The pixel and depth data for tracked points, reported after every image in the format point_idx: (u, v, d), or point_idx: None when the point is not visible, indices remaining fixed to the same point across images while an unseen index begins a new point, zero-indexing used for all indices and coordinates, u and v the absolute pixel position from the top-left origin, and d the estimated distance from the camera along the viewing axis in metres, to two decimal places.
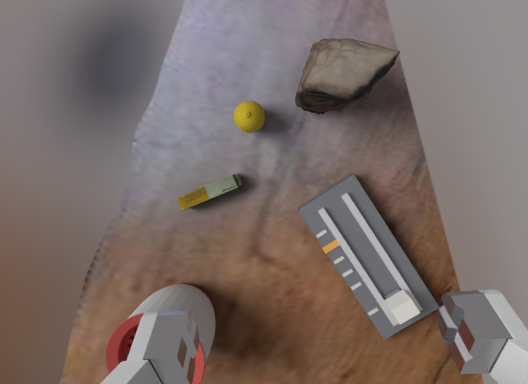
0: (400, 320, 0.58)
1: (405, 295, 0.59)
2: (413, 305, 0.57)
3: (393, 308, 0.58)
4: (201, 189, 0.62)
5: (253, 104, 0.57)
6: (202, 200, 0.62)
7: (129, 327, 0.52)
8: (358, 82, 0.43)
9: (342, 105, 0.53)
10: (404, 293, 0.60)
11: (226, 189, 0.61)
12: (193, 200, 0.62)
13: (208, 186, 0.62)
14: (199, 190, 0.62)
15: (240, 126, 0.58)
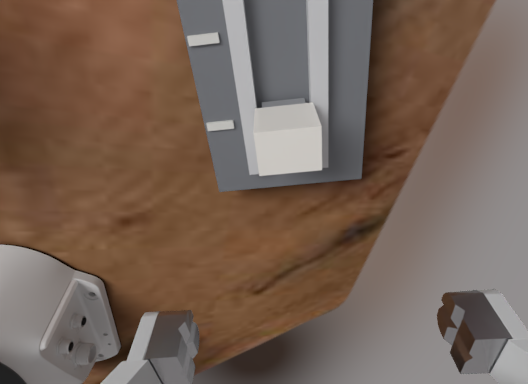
0: (265, 168, 0.21)
1: (311, 114, 0.21)
2: (316, 145, 0.20)
3: (262, 129, 0.20)
4: None
5: None
6: None
7: None
8: None
9: None
10: (311, 110, 0.22)
11: None
12: None
13: None
14: None
15: None
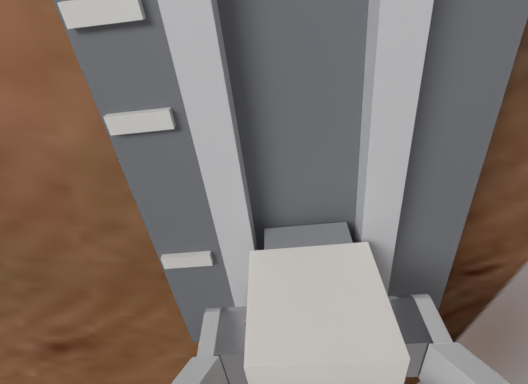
0: None
1: (374, 296, 0.09)
2: (391, 383, 0.09)
3: (265, 355, 0.08)
4: None
5: None
6: None
7: None
8: None
9: None
10: (371, 276, 0.10)
11: None
12: None
13: None
14: None
15: None
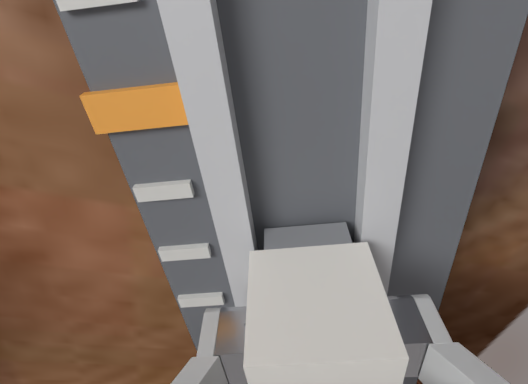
0: None
1: (373, 296, 0.09)
2: (390, 383, 0.09)
3: (265, 354, 0.08)
4: None
5: None
6: None
7: None
8: None
9: None
10: (370, 276, 0.10)
11: None
12: None
13: None
14: None
15: None
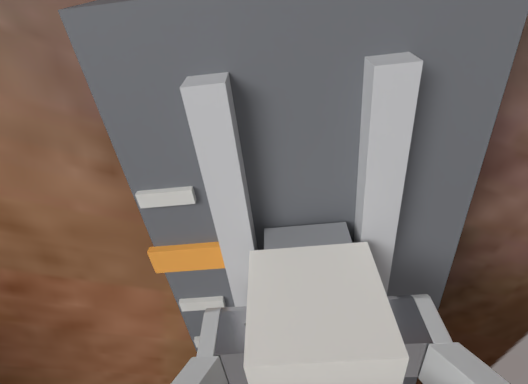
0: None
1: (373, 296, 0.10)
2: (391, 383, 0.09)
3: (265, 353, 0.08)
4: None
5: None
6: None
7: None
8: None
9: None
10: (370, 276, 0.10)
11: None
12: None
13: None
14: None
15: None
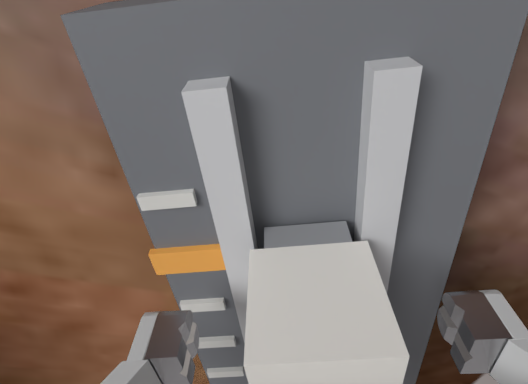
0: None
1: (373, 294, 0.09)
2: (391, 381, 0.09)
3: (265, 352, 0.08)
4: None
5: None
6: None
7: None
8: None
9: None
10: (370, 274, 0.10)
11: None
12: None
13: None
14: None
15: None
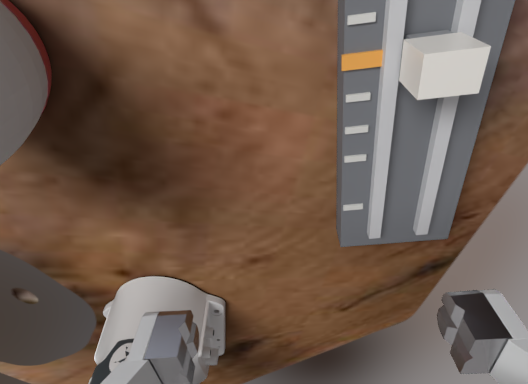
0: (425, 91, 0.22)
1: (470, 39, 0.22)
2: (480, 66, 0.21)
3: (431, 51, 0.21)
4: None
5: None
6: None
7: None
8: None
9: None
10: (467, 37, 0.23)
11: None
12: None
13: None
14: None
15: None
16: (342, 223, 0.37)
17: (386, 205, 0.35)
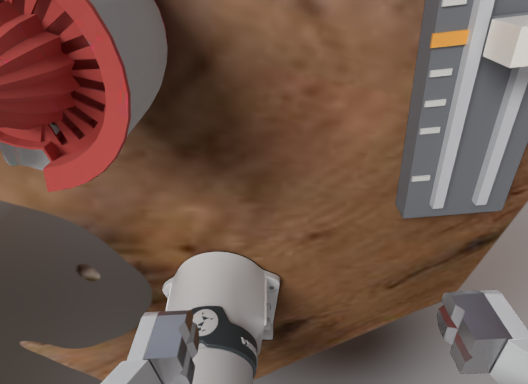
0: (517, 60, 0.26)
1: None
2: None
3: (527, 25, 0.25)
4: None
5: None
6: None
7: None
8: None
9: None
10: None
11: None
12: None
13: None
14: None
15: None
16: (408, 194, 0.40)
17: (450, 177, 0.39)
